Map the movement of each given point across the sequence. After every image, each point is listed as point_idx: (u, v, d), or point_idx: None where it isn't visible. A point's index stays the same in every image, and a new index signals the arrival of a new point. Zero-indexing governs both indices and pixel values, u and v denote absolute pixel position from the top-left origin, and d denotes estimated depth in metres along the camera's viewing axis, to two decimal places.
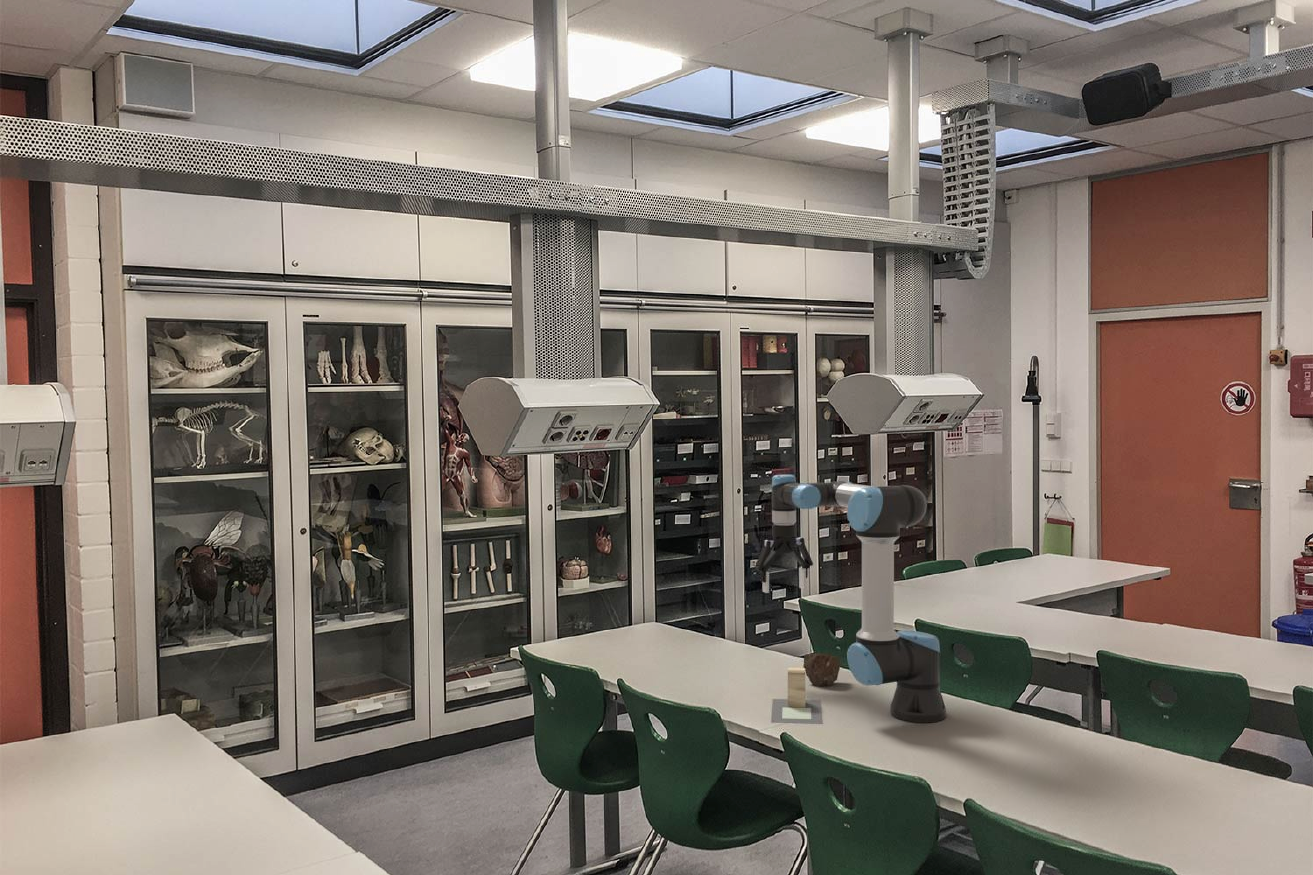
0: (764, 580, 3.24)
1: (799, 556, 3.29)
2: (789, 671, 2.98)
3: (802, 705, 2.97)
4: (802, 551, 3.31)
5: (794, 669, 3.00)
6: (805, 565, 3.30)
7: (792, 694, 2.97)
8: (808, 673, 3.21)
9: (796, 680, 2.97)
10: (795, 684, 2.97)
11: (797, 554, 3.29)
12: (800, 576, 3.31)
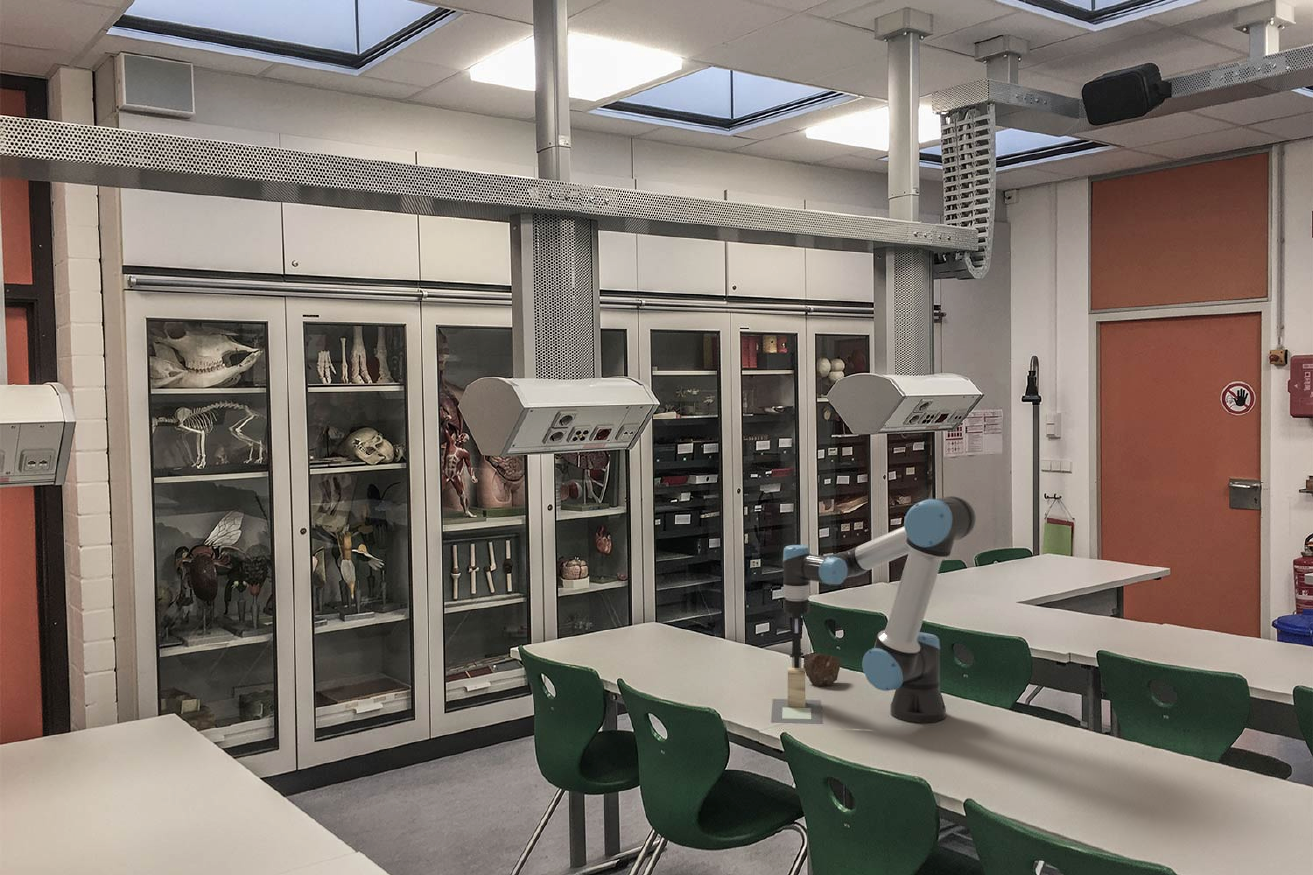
0: (799, 666, 3.02)
1: None
2: (789, 671, 2.98)
3: (802, 705, 2.97)
4: None
5: (794, 669, 3.00)
6: None
7: (792, 694, 2.97)
8: (808, 673, 3.21)
9: (796, 680, 2.97)
10: (795, 684, 2.97)
11: None
12: None
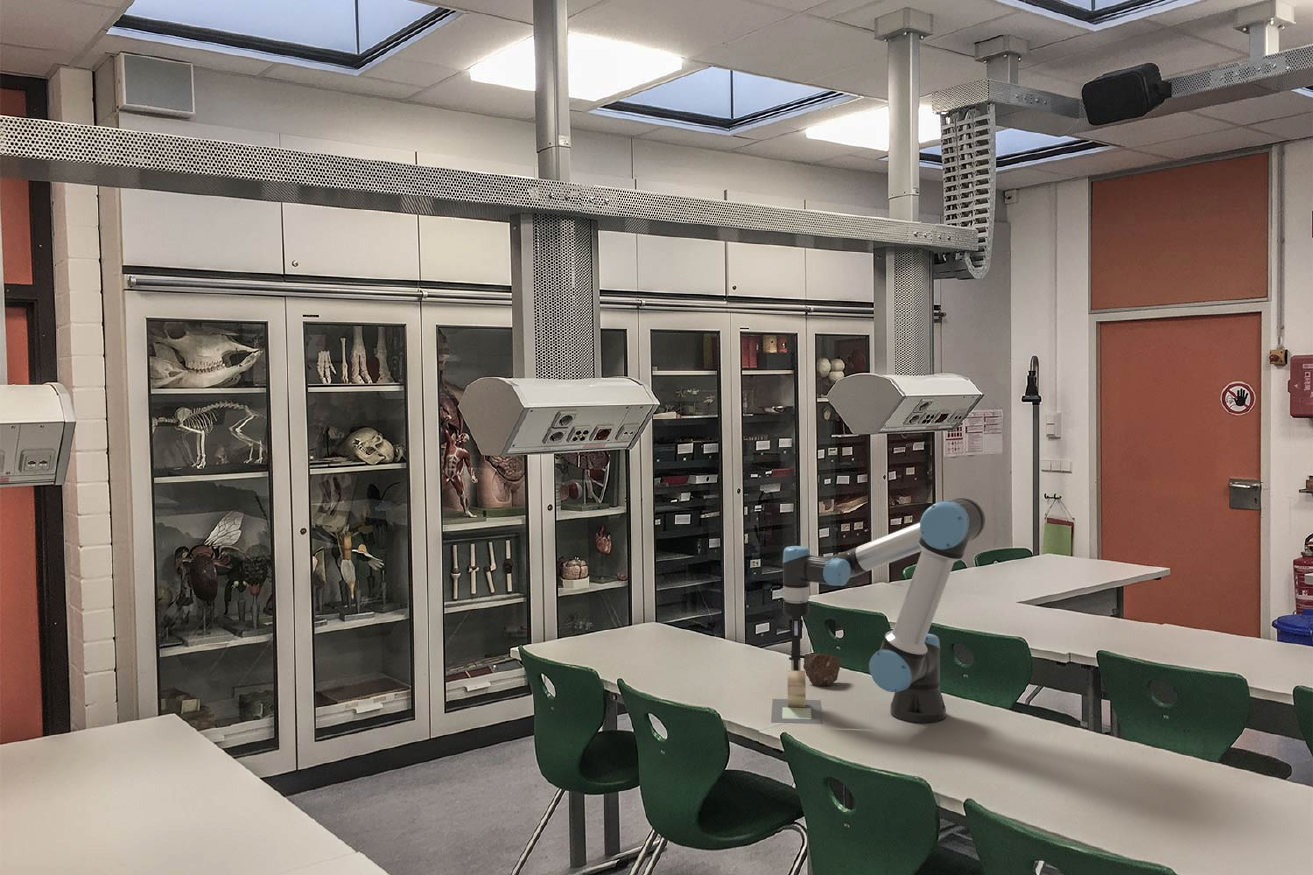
0: (798, 669, 2.97)
1: None
2: (789, 681, 2.92)
3: (802, 706, 2.97)
4: None
5: (794, 675, 2.94)
6: None
7: (792, 699, 2.95)
8: (808, 673, 3.21)
9: (796, 690, 2.92)
10: (795, 692, 2.93)
11: None
12: None
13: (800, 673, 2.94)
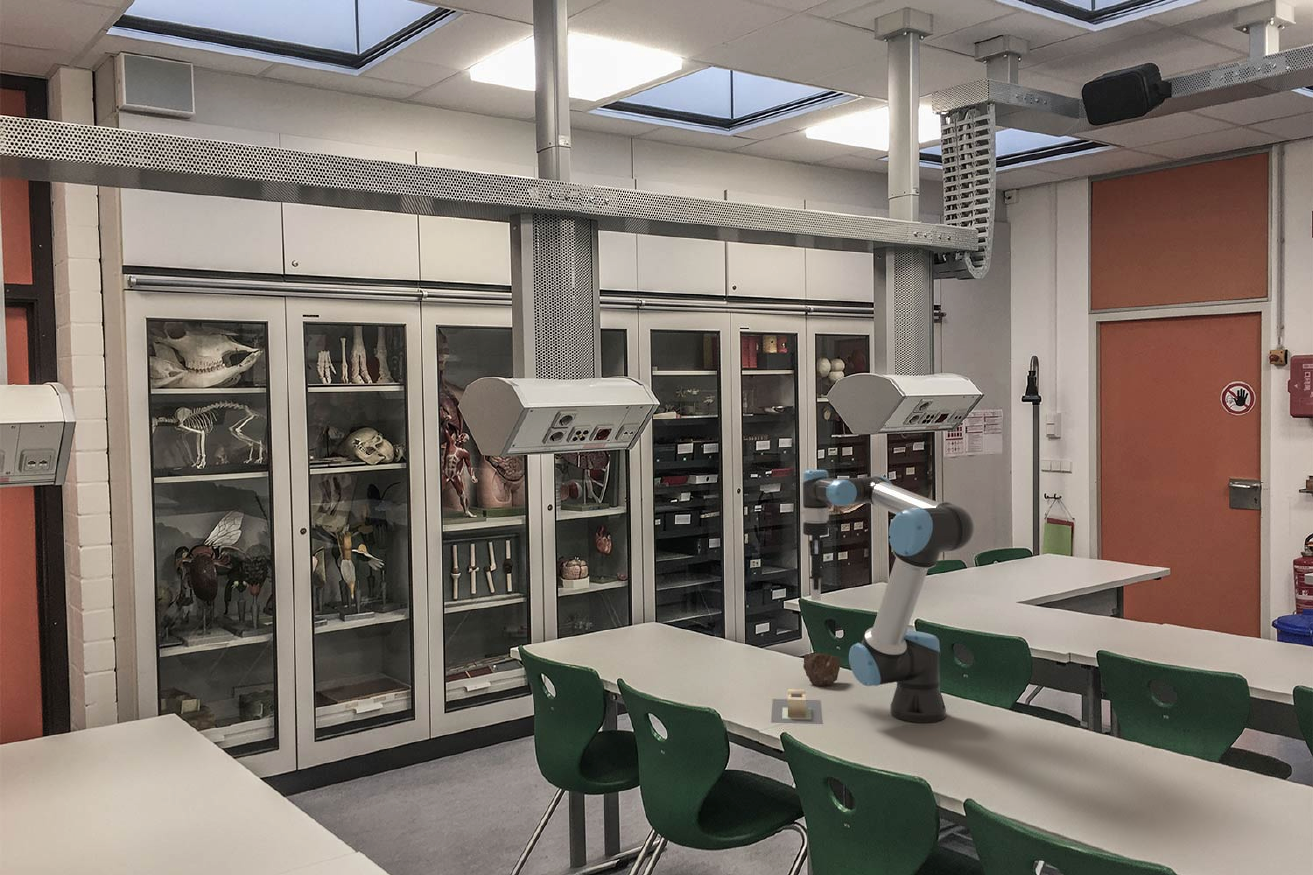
0: (818, 587, 3.09)
1: None
2: (789, 713, 2.88)
3: None
4: None
5: (794, 705, 2.87)
6: None
7: None
8: (808, 673, 3.21)
9: None
10: None
11: None
12: (813, 587, 3.11)
13: (800, 703, 2.87)
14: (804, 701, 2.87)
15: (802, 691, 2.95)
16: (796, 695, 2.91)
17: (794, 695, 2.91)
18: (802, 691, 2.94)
